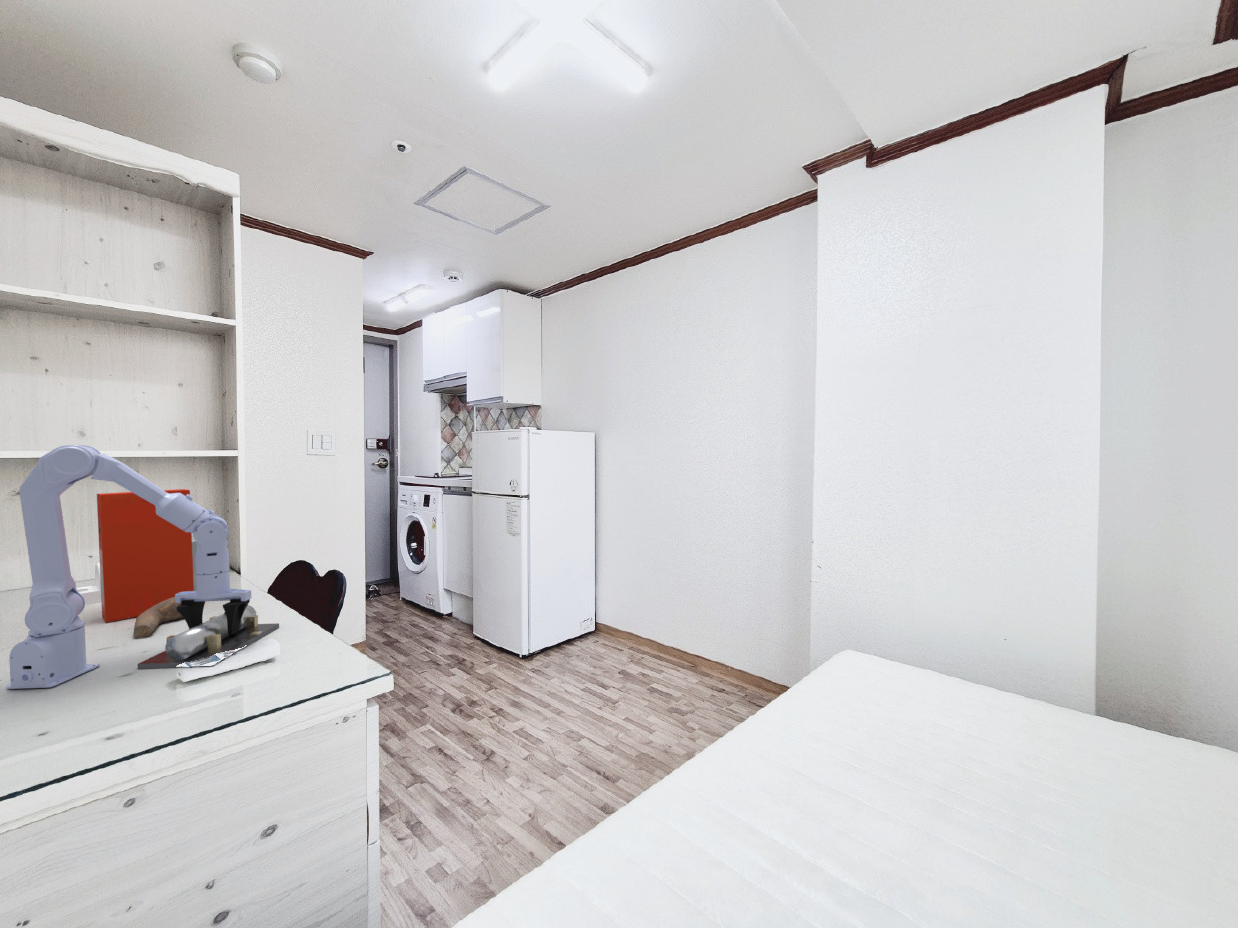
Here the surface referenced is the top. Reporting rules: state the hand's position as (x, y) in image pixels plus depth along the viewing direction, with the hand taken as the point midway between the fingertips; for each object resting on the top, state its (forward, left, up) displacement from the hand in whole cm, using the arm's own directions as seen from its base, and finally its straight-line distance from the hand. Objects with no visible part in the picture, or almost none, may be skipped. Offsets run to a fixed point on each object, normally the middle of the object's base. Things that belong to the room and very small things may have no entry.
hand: (215, 633), depth 112 cm
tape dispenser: (+42, +59, -3) cm, 73 cm away
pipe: (+15, +23, -3) cm, 27 cm away
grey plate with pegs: (0, 0, -3) cm, 3 cm away
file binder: (+27, +35, -3) cm, 45 cm away
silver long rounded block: (0, 0, -2) cm, 2 cm away
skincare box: (+45, +41, -3) cm, 61 cm away
